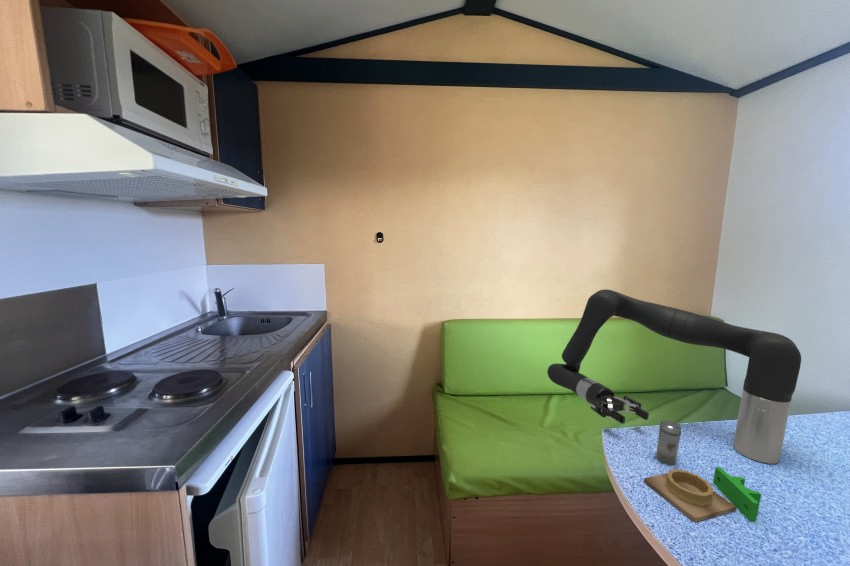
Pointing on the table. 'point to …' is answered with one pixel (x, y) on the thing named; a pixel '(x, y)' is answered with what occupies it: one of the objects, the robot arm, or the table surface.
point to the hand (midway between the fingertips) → (635, 418)
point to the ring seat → (690, 494)
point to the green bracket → (738, 493)
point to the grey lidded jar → (668, 442)
